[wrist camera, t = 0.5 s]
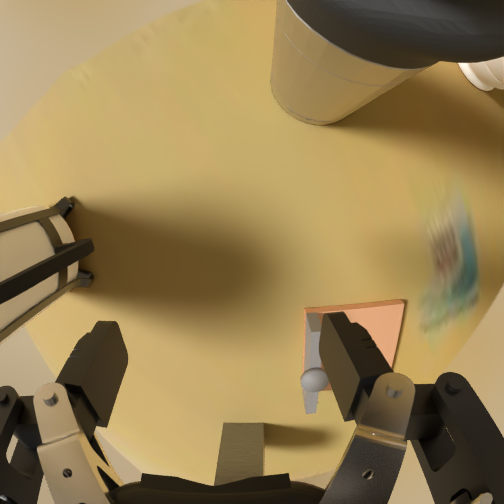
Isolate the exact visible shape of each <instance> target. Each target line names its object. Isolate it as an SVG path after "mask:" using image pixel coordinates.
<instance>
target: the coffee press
mask: <svg viewBox="0 0 504 504" xmlns="http://www.w3.org/2000/svg"><path fill="white" fill-rule="evenodd" d="M73 207H74V202H72V201H71V200H70V199H69V198H67V197H64V198H62V199H61V200H60V201H59V202H58V203H57V204H56V205H54V206H53V207H51V208H49V207H46V206H40V205H39V206H32V207H27V208H23V209H19V210H15V211H11V212H7V213H3V214H0V345H1V344H2V343H3V342H5V341H6V340H7V339H8V338H10V337H11V336H12V335H13V334H14V333H16V332H17V331H18V330H19V329H21V328H22V327H23V326H25V325H26V324H27V323H28V322H30V321H31V320H32V319H34V318H35V317H36V316H37V315H39V314H40V313H41V312H43V311H44V310H45V309H47V308H48V307H49V306H51V305H52V304H53V303H55V302H56V301H57V300H59V299H60V298H61V297H63V296H64V295H65V294H66V293H68V292H69V290H71V289H72V288H74V287H90V285H91V283H92V280H93V278H94V276H93V274H92V273H90V272H88V271H84V270H80V269H78V261H79V260H80V259H82V258H84V257H86V256H87V255H89V254H90V253H92V252H93V251H94V245H93V241H92V239H91V238H88V239H83V240H78V241H75V240H74V237H73V234H72V232H71V230H70V228H69V226H68V225H67V223H66V222H65V220H64V219H65V218H66V216H67V215H68V214H69V213H70V212H71V210H72V209H73ZM76 278H77V279H76Z"/></svg>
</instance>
